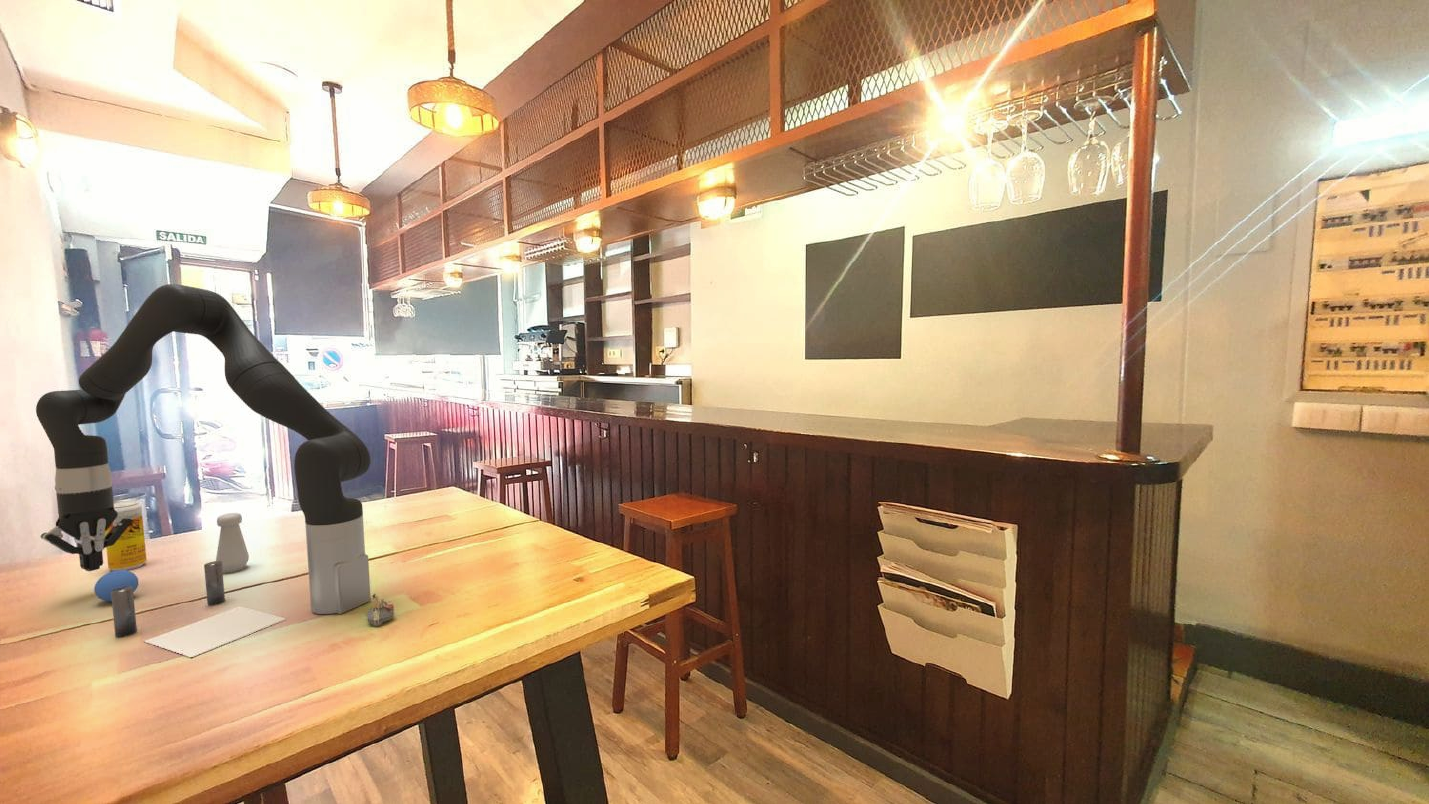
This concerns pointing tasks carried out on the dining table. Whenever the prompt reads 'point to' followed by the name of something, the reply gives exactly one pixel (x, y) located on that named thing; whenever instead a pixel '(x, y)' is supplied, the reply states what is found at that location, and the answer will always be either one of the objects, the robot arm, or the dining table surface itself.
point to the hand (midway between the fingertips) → (92, 569)
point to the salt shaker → (231, 543)
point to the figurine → (380, 612)
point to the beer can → (128, 539)
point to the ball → (114, 583)
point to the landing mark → (214, 631)
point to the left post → (123, 611)
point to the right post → (214, 582)
